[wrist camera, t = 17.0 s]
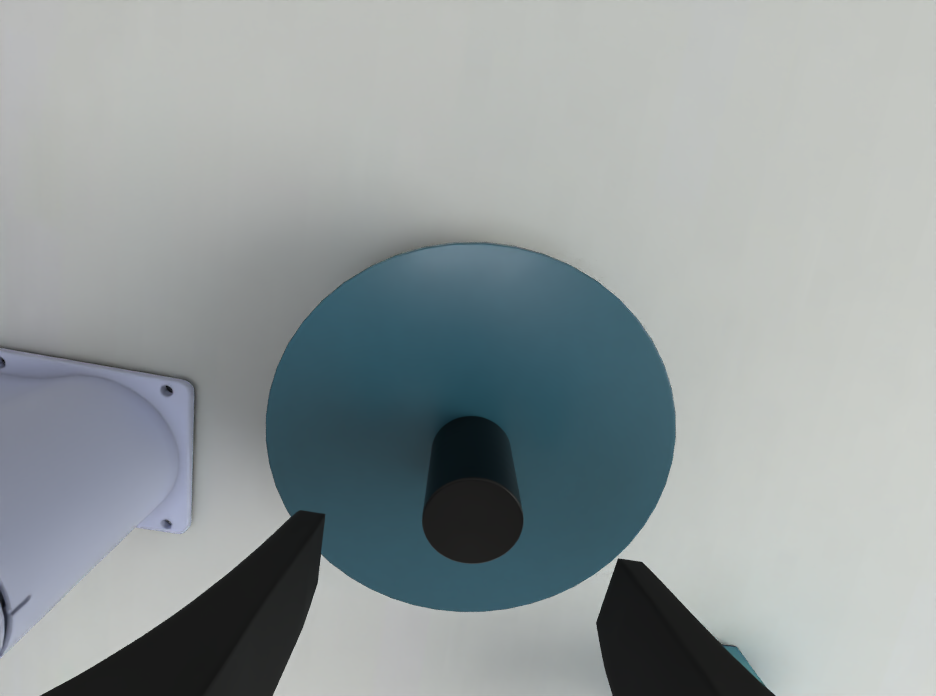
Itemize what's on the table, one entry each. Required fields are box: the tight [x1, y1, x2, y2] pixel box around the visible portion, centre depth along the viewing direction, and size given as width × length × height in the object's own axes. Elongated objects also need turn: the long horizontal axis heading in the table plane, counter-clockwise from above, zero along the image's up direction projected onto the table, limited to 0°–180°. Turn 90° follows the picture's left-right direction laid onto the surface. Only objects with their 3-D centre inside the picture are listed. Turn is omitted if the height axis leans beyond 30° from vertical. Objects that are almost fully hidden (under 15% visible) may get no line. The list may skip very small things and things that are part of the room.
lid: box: [266, 242, 676, 612], centre depth 14 cm, size 13×13×5 cm
